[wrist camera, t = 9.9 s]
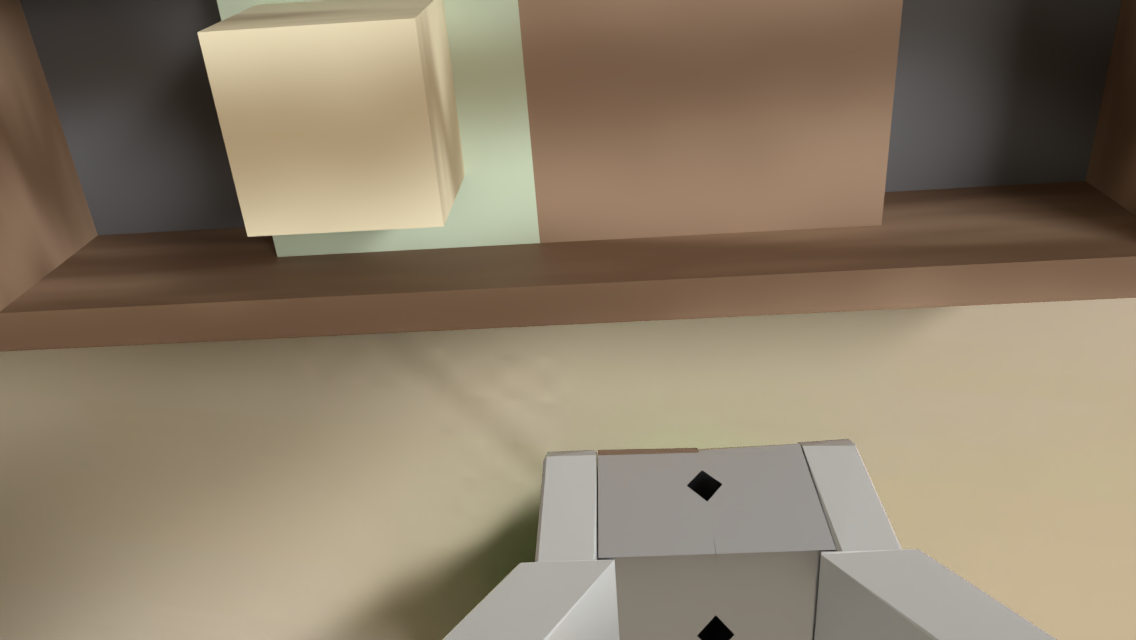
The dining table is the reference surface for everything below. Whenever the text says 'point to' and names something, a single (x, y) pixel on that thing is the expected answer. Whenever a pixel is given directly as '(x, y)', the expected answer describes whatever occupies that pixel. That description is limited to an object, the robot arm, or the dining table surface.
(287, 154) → the maple block
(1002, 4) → the trap lane
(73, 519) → the dining table surface
